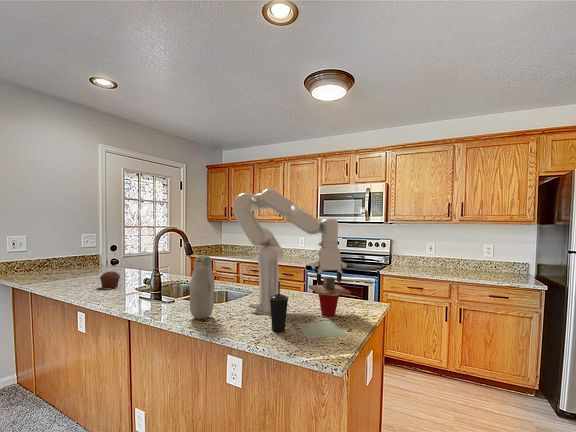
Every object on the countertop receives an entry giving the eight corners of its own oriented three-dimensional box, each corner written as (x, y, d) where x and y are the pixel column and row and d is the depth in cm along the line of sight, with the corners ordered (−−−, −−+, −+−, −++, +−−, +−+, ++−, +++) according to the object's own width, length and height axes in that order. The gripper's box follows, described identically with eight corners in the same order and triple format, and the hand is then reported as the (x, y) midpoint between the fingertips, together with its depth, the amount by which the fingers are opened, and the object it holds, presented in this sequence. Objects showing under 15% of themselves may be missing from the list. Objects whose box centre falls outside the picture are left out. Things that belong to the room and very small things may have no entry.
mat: (308, 340, 109) (308, 338, 109) (296, 325, 124) (296, 323, 125) (348, 337, 113) (348, 335, 113) (332, 323, 128) (332, 321, 128)
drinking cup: (272, 337, 111) (273, 283, 112) (266, 330, 118) (266, 280, 119) (291, 334, 115) (292, 282, 115) (283, 328, 122) (284, 279, 122)
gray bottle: (184, 320, 130) (186, 255, 130) (199, 313, 139) (201, 253, 140) (203, 323, 126) (204, 257, 127) (217, 316, 136) (218, 254, 136)
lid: (318, 295, 129) (319, 281, 129) (308, 287, 143) (308, 274, 144) (350, 294, 132) (351, 280, 132) (337, 286, 147) (337, 274, 147)
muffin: (107, 290, 184) (108, 273, 184) (94, 288, 188) (95, 272, 188) (124, 286, 195) (124, 271, 195) (112, 285, 199) (112, 270, 199)
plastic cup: (340, 321, 131) (340, 294, 131) (315, 319, 133) (316, 292, 134) (340, 314, 142) (341, 288, 142) (318, 312, 144) (318, 287, 144)
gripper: (314, 245, 133) (313, 284, 132) (350, 245, 137) (349, 283, 136) (309, 244, 140) (308, 281, 140) (343, 244, 144) (342, 280, 144)
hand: (329, 282), depth 138 cm, fingers open, 9 cm apart
